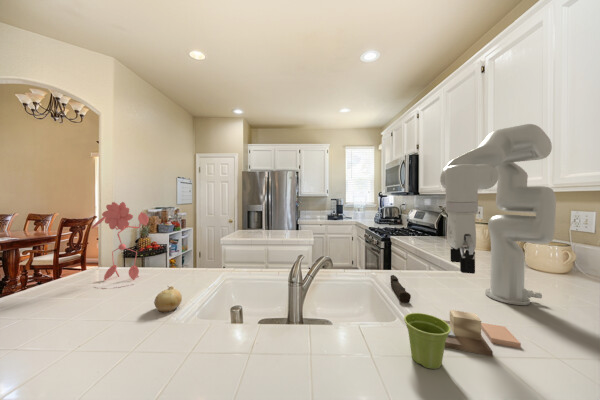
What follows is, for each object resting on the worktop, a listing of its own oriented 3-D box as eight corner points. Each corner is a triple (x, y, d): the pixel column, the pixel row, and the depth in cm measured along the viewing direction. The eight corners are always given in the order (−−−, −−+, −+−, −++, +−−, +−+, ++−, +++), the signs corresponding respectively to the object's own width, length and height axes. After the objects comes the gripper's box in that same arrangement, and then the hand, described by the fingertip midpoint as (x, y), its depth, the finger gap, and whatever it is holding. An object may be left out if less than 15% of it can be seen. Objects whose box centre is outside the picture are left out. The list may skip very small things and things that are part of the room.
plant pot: (397, 346, 58) (397, 311, 58) (435, 347, 58) (435, 312, 58) (414, 374, 49) (415, 333, 48) (460, 376, 48) (460, 335, 48)
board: (474, 329, 66) (474, 325, 66) (492, 356, 54) (492, 351, 54) (419, 319, 70) (419, 316, 70) (425, 342, 59) (426, 338, 59)
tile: (504, 326, 65) (520, 343, 58) (504, 332, 65) (520, 349, 58) (479, 322, 67) (491, 337, 60) (479, 327, 67) (491, 344, 60)
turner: (474, 330, 63) (474, 312, 63) (482, 342, 58) (482, 323, 58) (421, 320, 68) (422, 304, 68) (425, 331, 62) (425, 313, 62)
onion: (185, 308, 76) (185, 287, 76) (158, 317, 71) (158, 294, 70) (176, 301, 82) (177, 281, 82) (151, 309, 76) (151, 287, 76)
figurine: (102, 275, 107) (101, 201, 106) (156, 276, 107) (156, 201, 106) (69, 289, 92) (67, 202, 91) (132, 290, 92) (131, 203, 91)
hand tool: (410, 304, 82) (411, 291, 82) (399, 303, 82) (399, 290, 82) (398, 284, 100) (398, 274, 100) (388, 284, 101) (389, 273, 101)
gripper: (439, 206, 75) (440, 257, 76) (454, 210, 59) (455, 276, 59) (466, 205, 72) (467, 259, 73) (490, 210, 56) (490, 279, 57)
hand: (461, 267), depth 66 cm, fingers open, 9 cm apart
